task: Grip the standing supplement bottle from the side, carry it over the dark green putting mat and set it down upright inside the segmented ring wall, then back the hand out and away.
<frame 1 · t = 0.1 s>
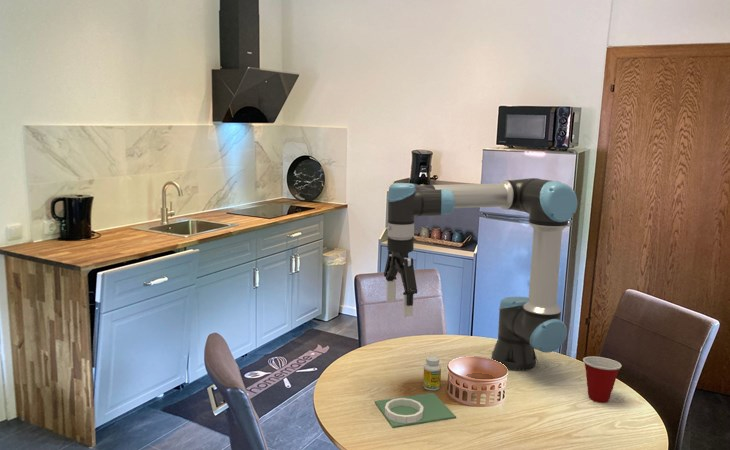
hand: (399, 308, 168), 28 cm above the table, tool pointing down, fingers open, 13 cm apart
putting mat: (414, 410, 165), on the table
supplement bottle: (431, 387, 180), on the table
plastic cup: (598, 398, 174), on the table
segmented ring wall: (404, 415, 162), resting on putting mat
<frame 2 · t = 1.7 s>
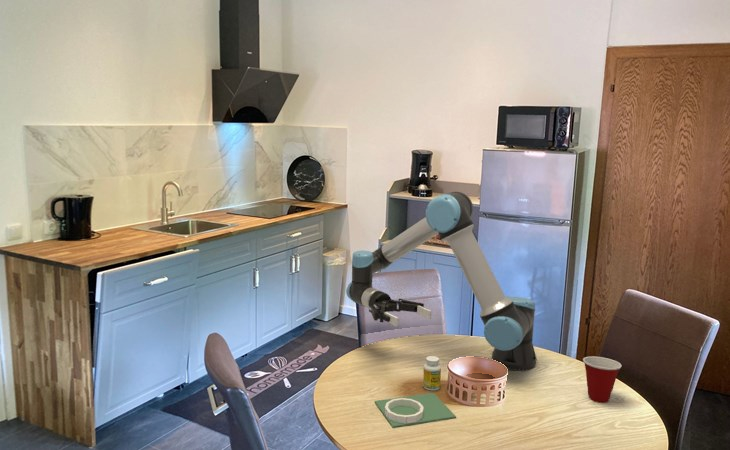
hand: (414, 318, 184), 20 cm above the table, tool horizontal, fingers open, 13 cm apart
nothing on the table moved.
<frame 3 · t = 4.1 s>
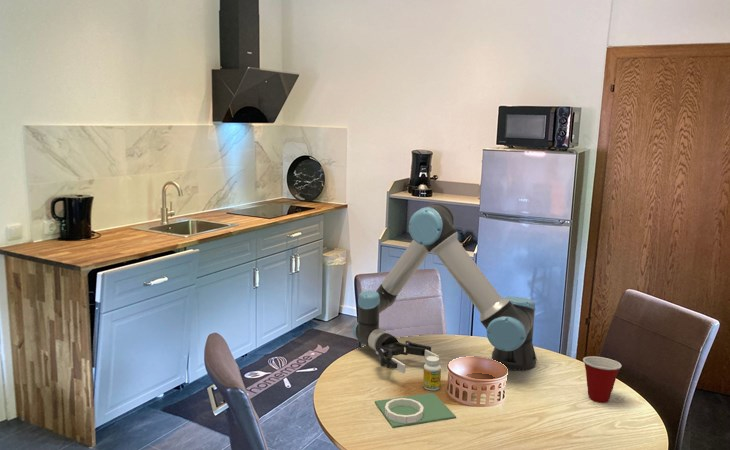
hand: (421, 364, 182), 6 cm above the table, tool horizontal, fingers open, 13 cm apart
nothing on the table moved.
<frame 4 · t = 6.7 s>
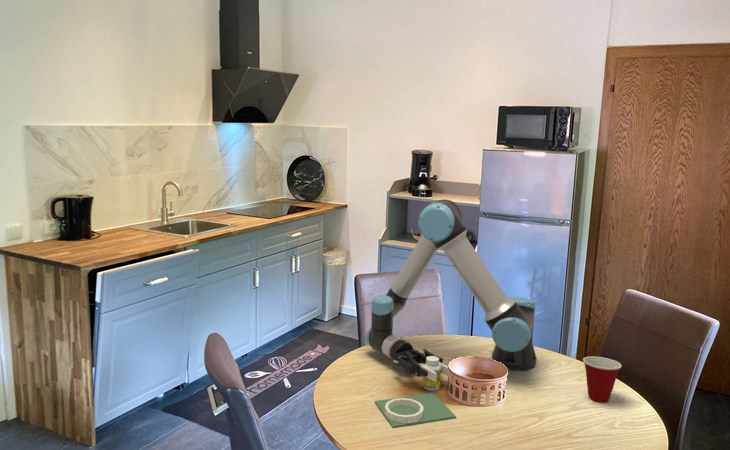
hand: (443, 375, 174), 6 cm above the table, tool horizontal, fingers closed on supplement bottle, 5 cm apart
supplement bottle: (431, 387, 180), on the table, touching gripper
everything else where it was.
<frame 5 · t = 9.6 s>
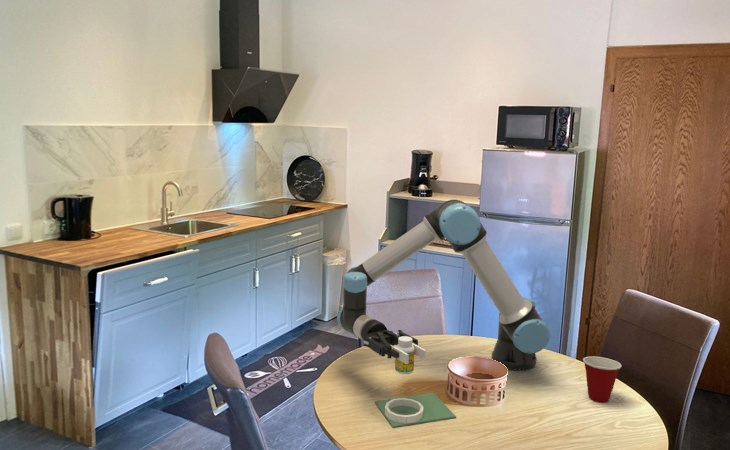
hand: (416, 357, 157), 18 cm above the table, tool horizontal, fingers closed on supplement bottle, 5 cm apart
supplement bottle: (404, 371, 162), point 12 cm above the table, touching gripper
everything else where it was.
when the fingers open (8 cm above the table, at t = 12.4 s): supplement bottle drops 1 cm, resting on putting mat.
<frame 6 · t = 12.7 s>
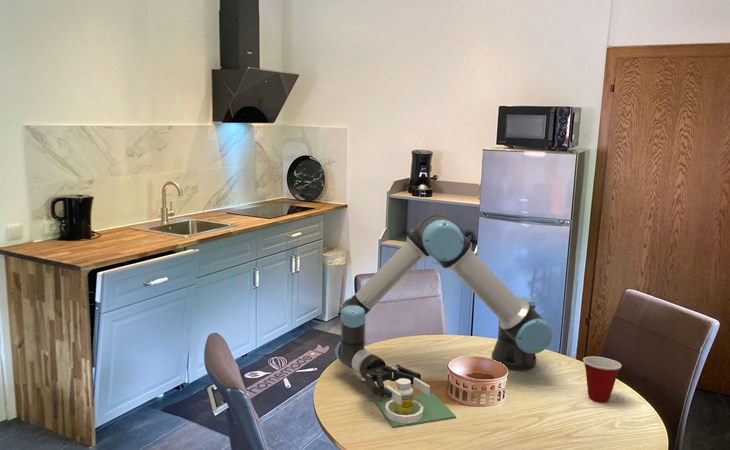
hand: (414, 395, 157), 8 cm above the table, tool horizontal, fingers open, 9 cm apart
supplement bottle: (403, 413, 162), resting on putting mat
everything else where it was.
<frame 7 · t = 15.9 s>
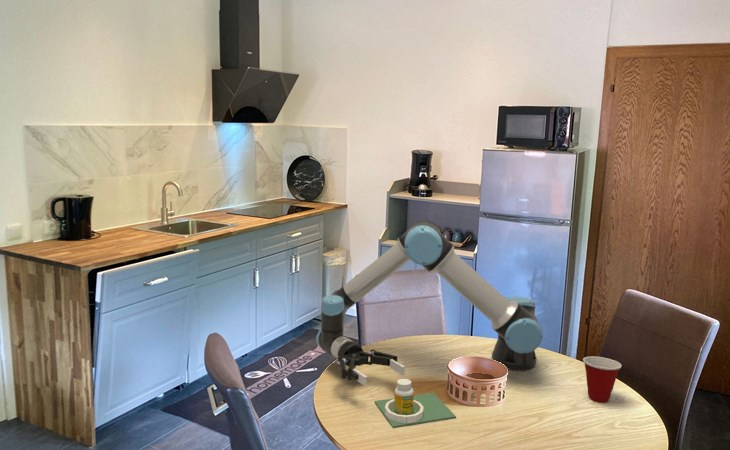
hand: (385, 376, 168), 8 cm above the table, tool horizontal, fingers open, 13 cm apart
nothing on the table moved.
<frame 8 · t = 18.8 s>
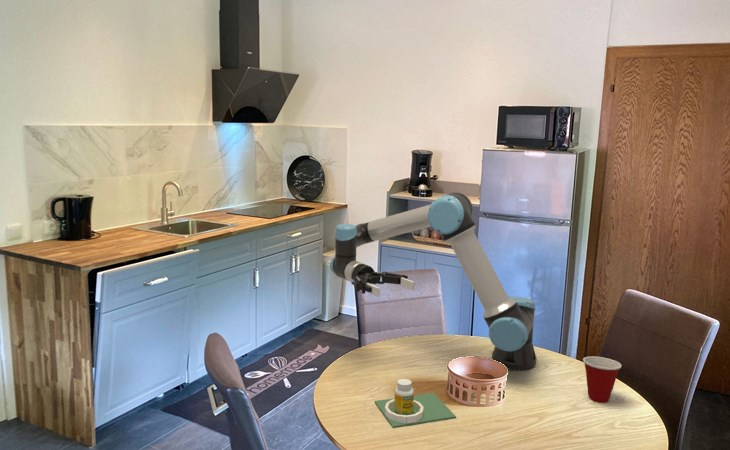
hand: (396, 289, 180), 30 cm above the table, tool horizontal, fingers open, 13 cm apart
nothing on the table moved.
at the end: supplement bottle 0.1 cm off-centre on the segmented ring wall, point 0.3 cm above the segmented ring wall's base; supplement bottle tilted 0°; the gripper is holding nothing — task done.
